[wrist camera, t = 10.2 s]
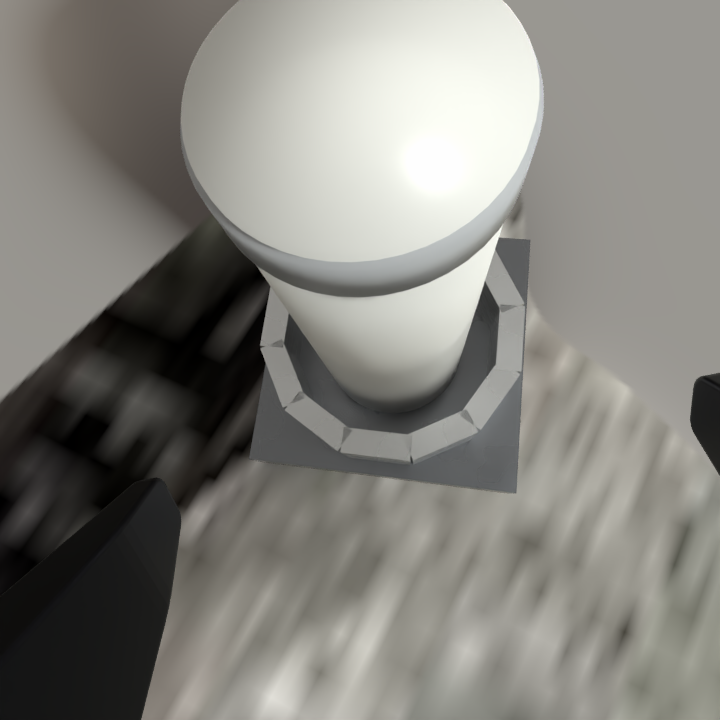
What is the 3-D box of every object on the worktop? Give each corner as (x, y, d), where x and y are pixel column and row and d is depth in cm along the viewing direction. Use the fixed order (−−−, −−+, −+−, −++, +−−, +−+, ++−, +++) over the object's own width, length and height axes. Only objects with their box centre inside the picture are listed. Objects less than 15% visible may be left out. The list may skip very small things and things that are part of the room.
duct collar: (508, 493, 20) (532, 493, 16) (260, 461, 21) (225, 454, 17) (522, 256, 22) (546, 205, 18) (297, 240, 23) (274, 189, 19)
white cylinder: (406, 444, 19) (388, 341, 6) (297, 360, 20) (102, 134, 8) (491, 333, 20) (625, 43, 7) (381, 258, 21) (328, -102, 8)
